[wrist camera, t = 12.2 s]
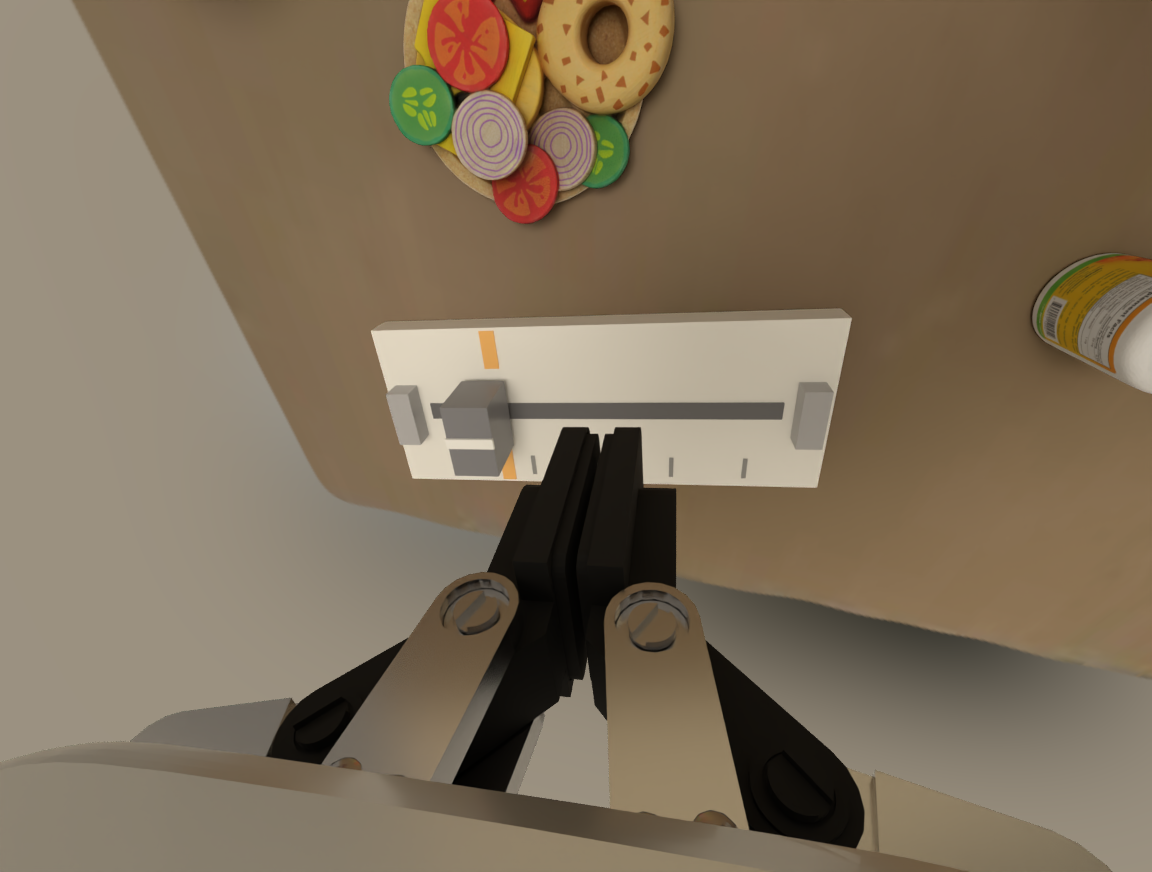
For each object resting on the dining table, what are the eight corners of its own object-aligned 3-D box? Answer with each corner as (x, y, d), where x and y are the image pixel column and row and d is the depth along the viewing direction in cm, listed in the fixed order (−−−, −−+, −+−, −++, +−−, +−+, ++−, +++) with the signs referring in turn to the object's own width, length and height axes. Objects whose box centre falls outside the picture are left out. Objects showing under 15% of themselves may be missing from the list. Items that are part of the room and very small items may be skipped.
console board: (841, 308, 31) (861, 326, 28) (809, 471, 36) (822, 500, 33) (384, 321, 35) (359, 338, 32) (422, 464, 41) (404, 489, 38)
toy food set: (704, -4, 24) (710, -23, 22) (589, 251, 31) (582, 261, 28) (451, -152, 23) (423, -192, 20) (388, 148, 30) (360, 148, 27)
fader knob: (504, 380, 33) (486, 409, 30) (514, 444, 36) (498, 477, 32) (460, 381, 34) (437, 408, 30) (473, 444, 36) (453, 476, 33)
